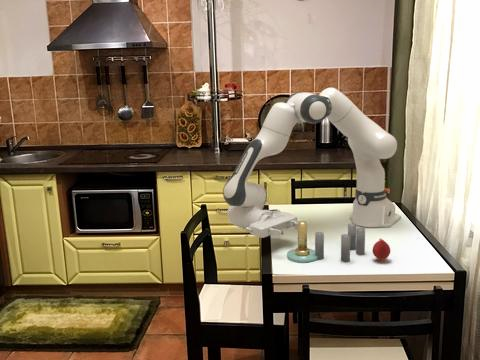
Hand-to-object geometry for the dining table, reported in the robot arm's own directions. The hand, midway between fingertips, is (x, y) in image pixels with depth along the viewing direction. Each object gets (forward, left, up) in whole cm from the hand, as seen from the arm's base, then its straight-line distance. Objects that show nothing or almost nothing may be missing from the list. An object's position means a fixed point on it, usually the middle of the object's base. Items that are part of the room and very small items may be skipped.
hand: (290, 229), depth 190 cm
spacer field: (-11, +14, -9) cm, 20 cm away
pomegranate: (-15, +27, -9) cm, 32 cm away
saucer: (0, +5, -9) cm, 10 cm away
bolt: (0, +5, -8) cm, 9 cm away
